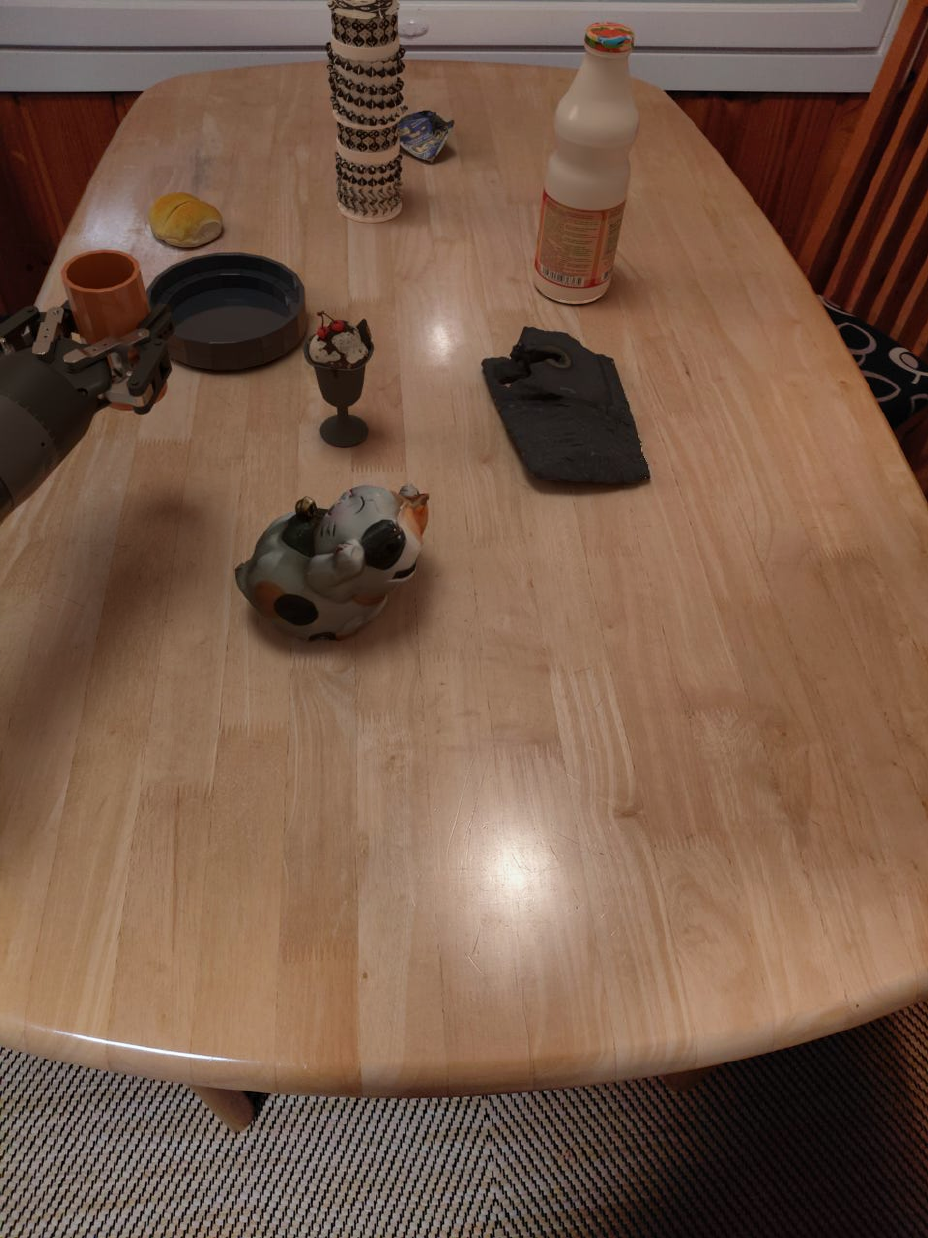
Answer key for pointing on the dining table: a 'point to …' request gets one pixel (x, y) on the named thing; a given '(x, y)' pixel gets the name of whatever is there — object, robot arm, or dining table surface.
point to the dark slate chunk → (566, 410)
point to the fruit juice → (588, 170)
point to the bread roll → (184, 220)
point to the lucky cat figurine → (335, 561)
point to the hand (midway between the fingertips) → (131, 304)
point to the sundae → (340, 375)
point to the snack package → (423, 133)
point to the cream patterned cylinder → (366, 107)
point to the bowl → (231, 309)
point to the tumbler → (106, 299)
